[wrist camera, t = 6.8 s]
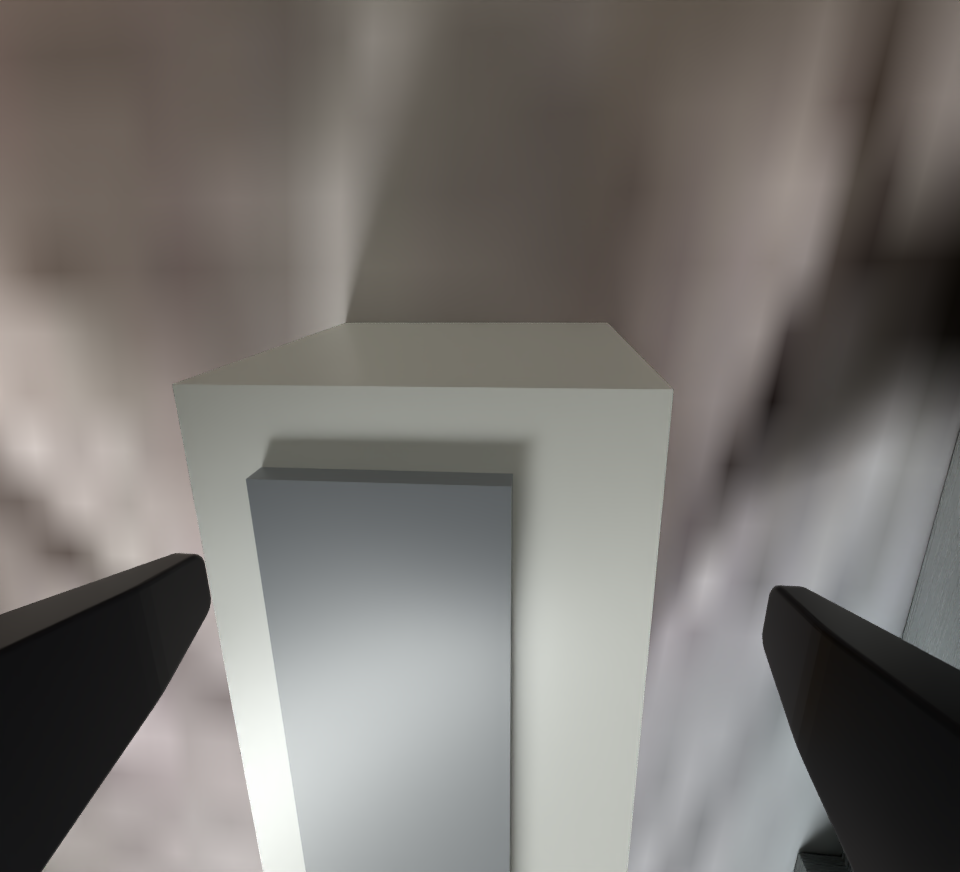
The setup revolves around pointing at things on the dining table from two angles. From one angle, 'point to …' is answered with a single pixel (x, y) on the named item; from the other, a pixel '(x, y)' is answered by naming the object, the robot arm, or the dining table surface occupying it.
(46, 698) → the robot arm
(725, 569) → the dining table surface
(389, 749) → the block
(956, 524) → the rail
